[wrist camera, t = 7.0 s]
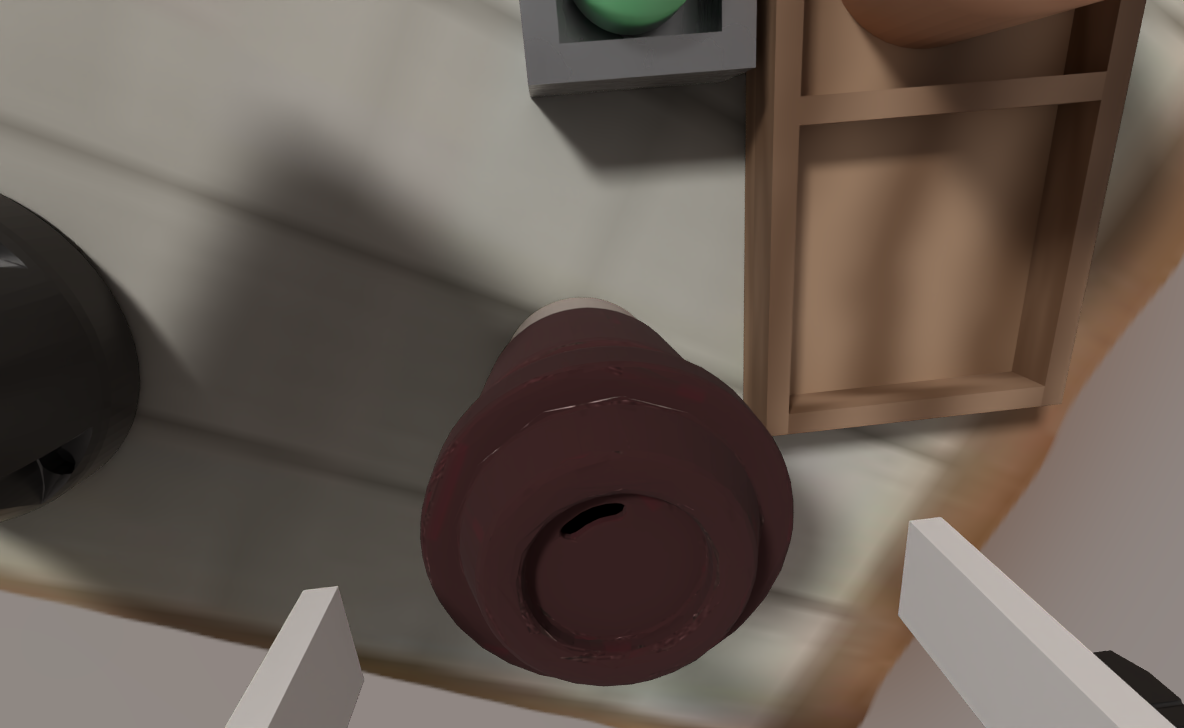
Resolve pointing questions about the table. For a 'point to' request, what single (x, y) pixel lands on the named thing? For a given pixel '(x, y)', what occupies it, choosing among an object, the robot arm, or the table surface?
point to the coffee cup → (603, 503)
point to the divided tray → (922, 212)
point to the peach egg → (948, 18)
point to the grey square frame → (636, 48)
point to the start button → (628, 14)
